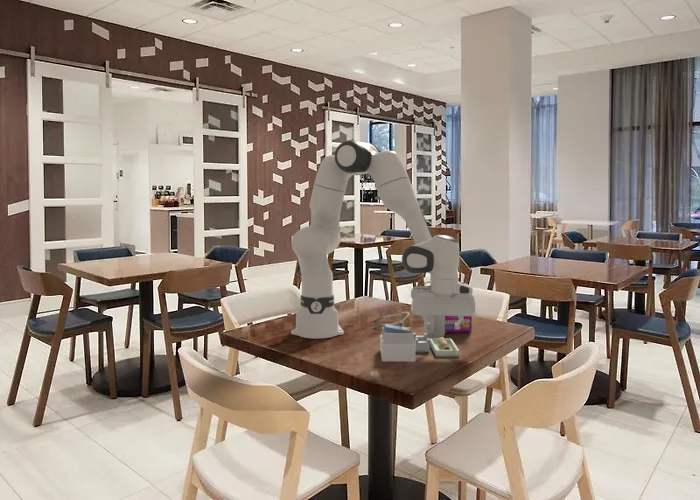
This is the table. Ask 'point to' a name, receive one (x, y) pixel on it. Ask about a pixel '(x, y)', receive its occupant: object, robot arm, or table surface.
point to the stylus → (444, 344)
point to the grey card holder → (397, 346)
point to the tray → (444, 353)
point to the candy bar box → (464, 326)
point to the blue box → (396, 329)
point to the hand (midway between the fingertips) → (442, 328)
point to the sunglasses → (403, 319)
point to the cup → (435, 326)
